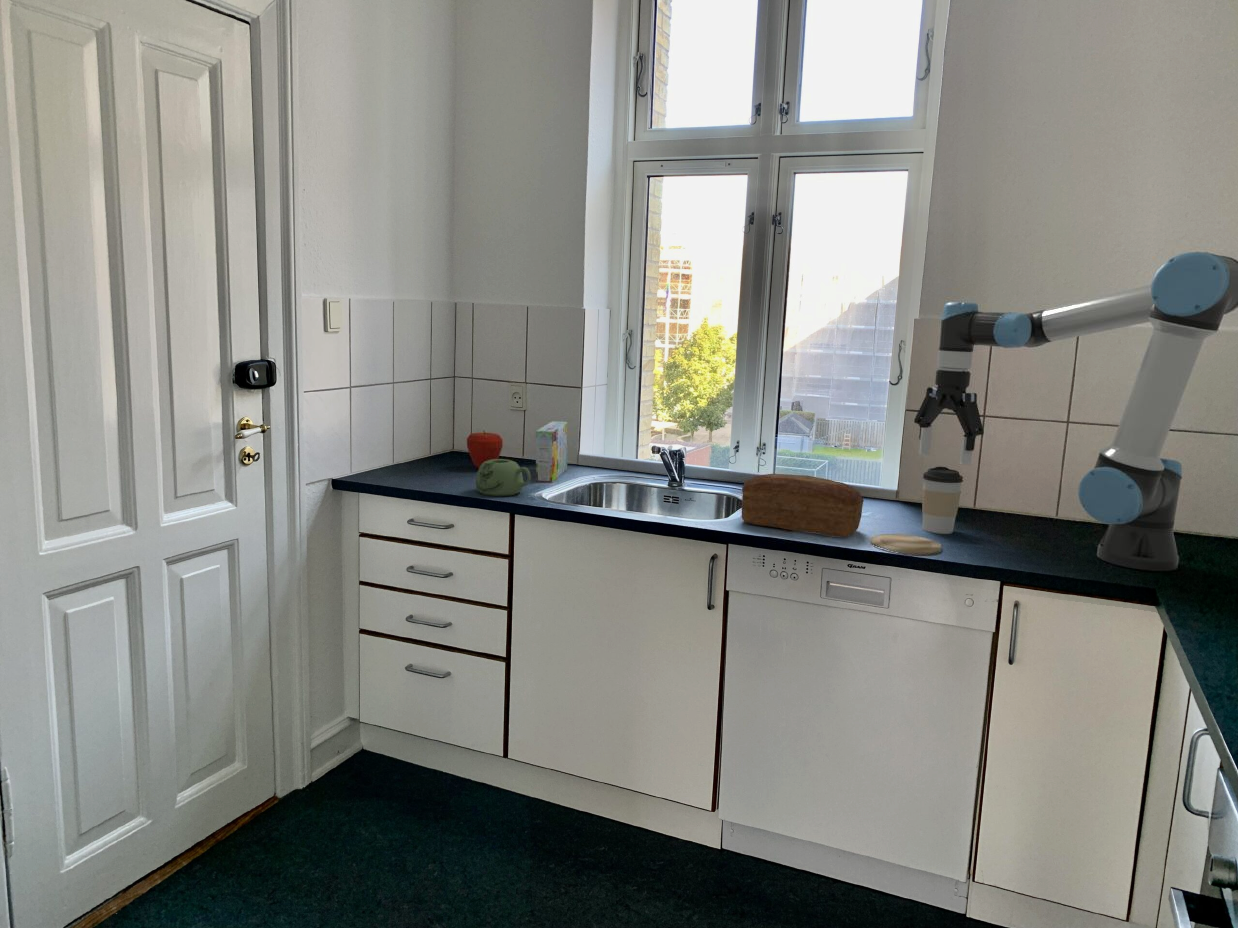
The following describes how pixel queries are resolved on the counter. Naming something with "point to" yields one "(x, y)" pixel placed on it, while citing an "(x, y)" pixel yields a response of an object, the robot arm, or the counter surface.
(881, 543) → the coaster
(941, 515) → the coffee cup
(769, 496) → the bread
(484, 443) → the apple
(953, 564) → the counter surface
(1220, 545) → the counter surface
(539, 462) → the snack box
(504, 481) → the mug
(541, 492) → the counter surface
